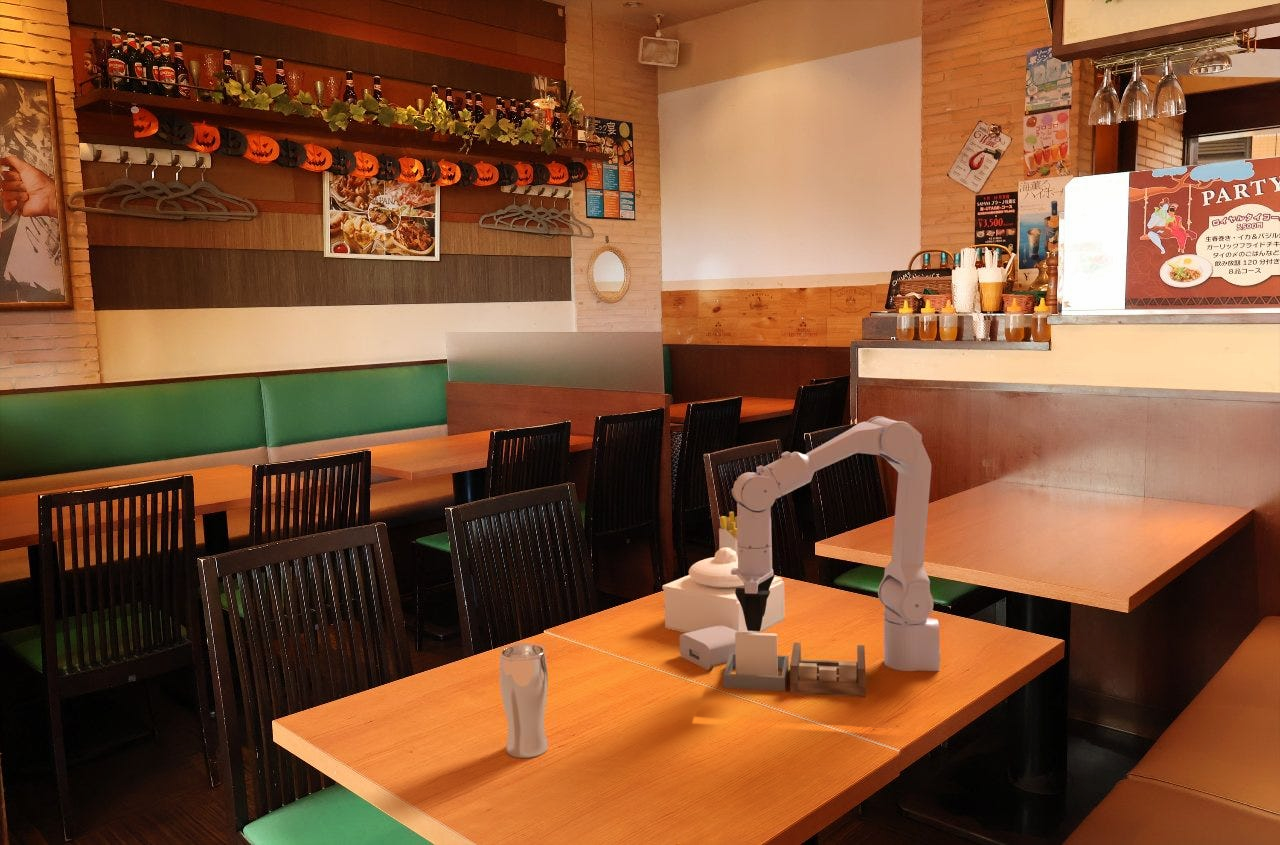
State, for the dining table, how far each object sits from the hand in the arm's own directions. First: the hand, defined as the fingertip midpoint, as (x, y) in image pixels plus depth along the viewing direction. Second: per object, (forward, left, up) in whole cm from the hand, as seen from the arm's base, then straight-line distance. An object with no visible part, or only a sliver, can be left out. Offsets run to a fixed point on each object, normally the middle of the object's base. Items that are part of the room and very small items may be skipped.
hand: (756, 623), depth 164 cm
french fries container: (+8, -54, -11) cm, 56 cm away
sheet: (0, 0, -10) cm, 10 cm away
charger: (+7, -13, -11) cm, 18 cm away
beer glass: (+31, +30, -11) cm, 45 cm away
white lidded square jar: (+9, -30, -11) cm, 33 cm away
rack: (-12, 0, -10) cm, 16 cm away
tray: (0, 0, -10) cm, 10 cm away
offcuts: (-12, +4, -10) cm, 16 cm away
